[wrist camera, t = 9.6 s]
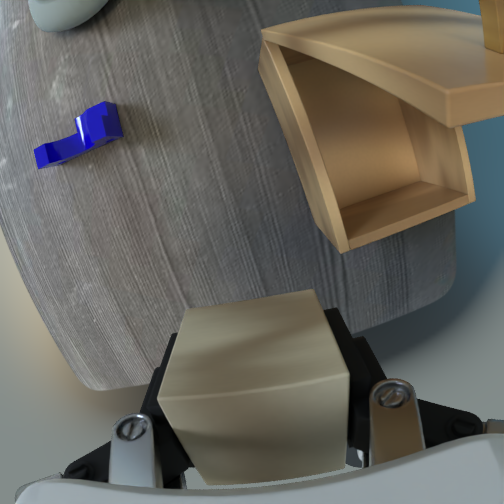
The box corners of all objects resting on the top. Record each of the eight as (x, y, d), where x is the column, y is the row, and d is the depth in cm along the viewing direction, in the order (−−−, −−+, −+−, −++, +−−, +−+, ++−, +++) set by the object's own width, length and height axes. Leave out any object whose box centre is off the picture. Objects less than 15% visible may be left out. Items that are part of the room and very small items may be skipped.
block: (313, 287, 11) (350, 373, 6) (321, 382, 12) (345, 469, 8) (185, 308, 11) (155, 398, 7) (215, 397, 12) (206, 486, 8)
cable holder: (115, 103, 25) (97, 99, 22) (123, 136, 26) (106, 136, 23) (52, 134, 26) (30, 135, 22) (59, 165, 27) (38, 169, 23)
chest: (424, 184, 28) (476, 200, 20) (314, 223, 30) (340, 254, 21) (377, 40, 23) (419, 11, 15) (257, 68, 25) (261, 37, 16)
